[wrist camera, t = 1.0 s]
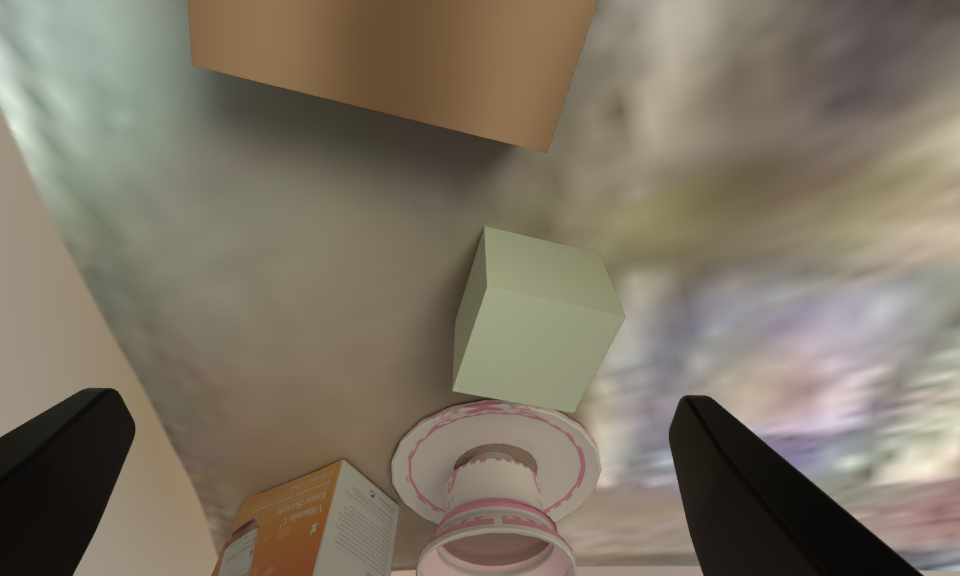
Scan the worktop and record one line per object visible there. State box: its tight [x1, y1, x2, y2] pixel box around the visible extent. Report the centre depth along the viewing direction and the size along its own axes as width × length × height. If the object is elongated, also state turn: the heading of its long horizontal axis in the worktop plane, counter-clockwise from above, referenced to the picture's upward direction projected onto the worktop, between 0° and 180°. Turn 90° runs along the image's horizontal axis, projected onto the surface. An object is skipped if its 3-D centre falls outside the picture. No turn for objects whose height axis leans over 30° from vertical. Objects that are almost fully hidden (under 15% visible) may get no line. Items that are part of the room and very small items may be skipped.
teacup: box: [391, 400, 601, 576], centre depth 27 cm, size 12×12×6 cm
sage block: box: [452, 226, 625, 413], centre depth 20 cm, size 5×5×4 cm
